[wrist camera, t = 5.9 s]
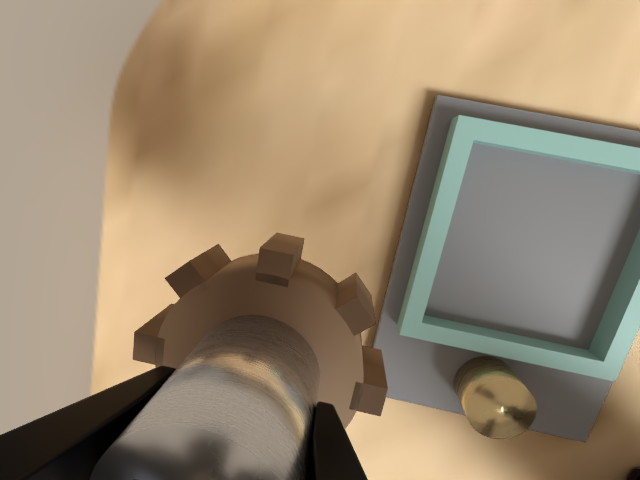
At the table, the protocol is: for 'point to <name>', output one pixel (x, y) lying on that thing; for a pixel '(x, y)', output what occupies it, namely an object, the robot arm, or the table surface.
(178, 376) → the planet gear
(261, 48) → the table surface
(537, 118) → the carrier plate
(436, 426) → the table surface
